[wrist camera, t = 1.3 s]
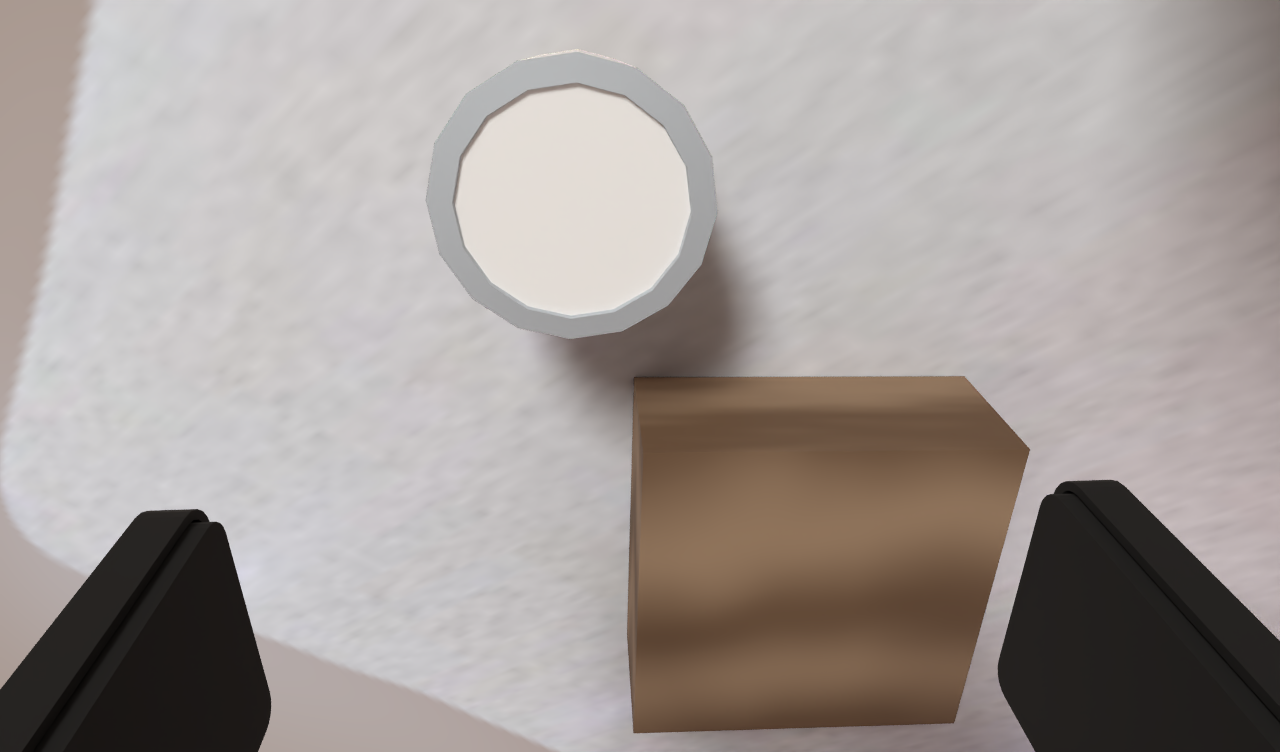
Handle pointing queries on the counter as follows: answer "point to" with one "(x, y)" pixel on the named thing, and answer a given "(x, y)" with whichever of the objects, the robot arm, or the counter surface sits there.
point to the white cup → (571, 195)
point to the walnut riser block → (811, 548)
